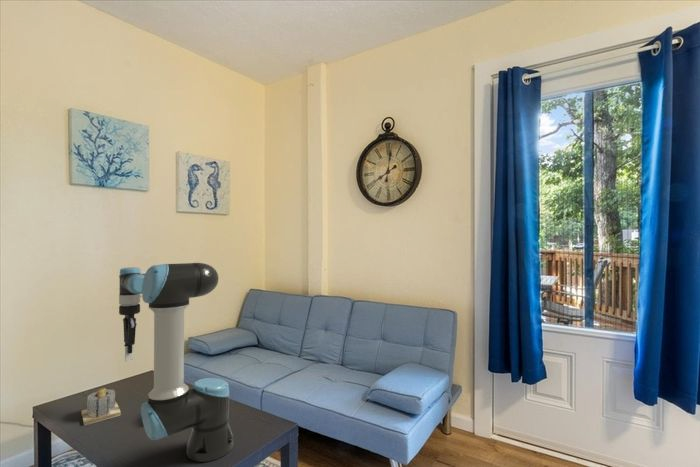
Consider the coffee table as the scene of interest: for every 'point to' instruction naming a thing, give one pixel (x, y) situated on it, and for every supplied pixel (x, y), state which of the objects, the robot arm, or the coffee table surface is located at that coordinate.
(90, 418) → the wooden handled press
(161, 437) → the robot arm
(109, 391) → the studded hollow tube
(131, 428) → the coffee table surface
